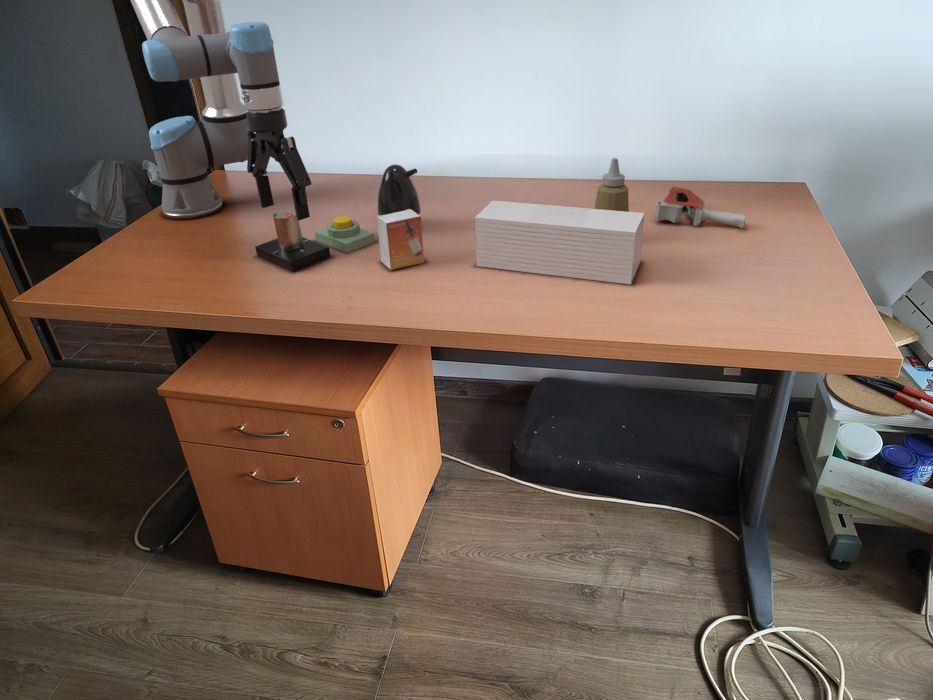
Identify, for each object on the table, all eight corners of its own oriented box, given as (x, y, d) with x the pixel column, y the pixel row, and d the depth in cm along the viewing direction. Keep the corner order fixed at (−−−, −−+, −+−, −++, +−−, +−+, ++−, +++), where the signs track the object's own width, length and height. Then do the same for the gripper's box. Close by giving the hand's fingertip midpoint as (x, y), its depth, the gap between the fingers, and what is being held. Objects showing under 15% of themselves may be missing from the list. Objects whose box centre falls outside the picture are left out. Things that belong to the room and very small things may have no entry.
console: (257, 256, 151) (254, 245, 149) (294, 243, 157) (292, 232, 155) (292, 272, 142) (290, 261, 141) (330, 257, 148) (328, 246, 147)
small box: (390, 271, 140) (385, 223, 135) (380, 262, 145) (375, 215, 139) (425, 262, 143) (421, 215, 138) (414, 254, 148) (410, 208, 142)
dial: (275, 247, 148) (268, 213, 144) (294, 240, 151) (288, 206, 147) (288, 252, 145) (281, 218, 141) (308, 245, 148) (302, 211, 144)
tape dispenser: (749, 235, 152) (698, 203, 168) (755, 213, 149) (702, 182, 165) (682, 244, 147) (635, 210, 163) (686, 221, 144) (639, 189, 160)
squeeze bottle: (631, 235, 151) (638, 155, 142) (623, 248, 145) (629, 165, 136) (596, 231, 154) (601, 152, 145) (586, 243, 148) (590, 162, 139)
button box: (316, 240, 157) (313, 224, 155) (343, 230, 162) (340, 214, 160) (347, 252, 150) (345, 236, 148) (375, 241, 155) (373, 225, 153)
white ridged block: (639, 263, 138) (644, 212, 133) (630, 284, 130) (635, 232, 124) (493, 247, 149) (492, 200, 143) (476, 266, 141) (474, 217, 135)
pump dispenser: (416, 235, 157) (410, 171, 149) (374, 234, 159) (366, 171, 151) (427, 220, 165) (422, 158, 158) (387, 219, 167) (380, 158, 160)
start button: (329, 227, 154) (328, 220, 153) (344, 221, 157) (343, 214, 156) (341, 231, 152) (340, 224, 151) (356, 225, 154) (355, 218, 153)
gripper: (216, 106, 138) (239, 205, 149) (284, 119, 123) (304, 229, 134) (248, 100, 143) (268, 197, 154) (317, 112, 128) (334, 218, 138)
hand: (285, 212), depth 144 cm, fingers open, 13 cm apart
